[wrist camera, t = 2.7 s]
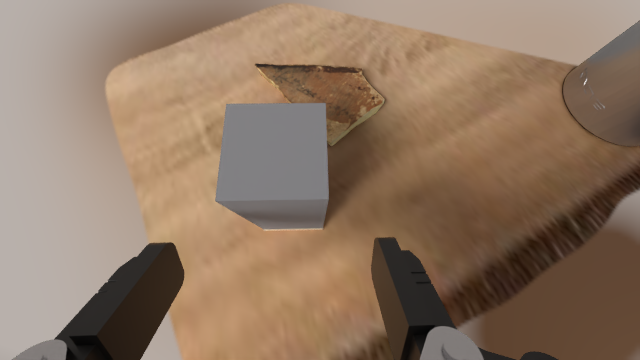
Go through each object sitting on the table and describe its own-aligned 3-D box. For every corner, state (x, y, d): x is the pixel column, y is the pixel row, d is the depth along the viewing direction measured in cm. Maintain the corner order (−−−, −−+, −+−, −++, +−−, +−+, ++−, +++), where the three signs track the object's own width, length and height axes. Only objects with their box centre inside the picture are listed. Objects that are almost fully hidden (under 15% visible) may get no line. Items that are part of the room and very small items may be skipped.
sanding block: (321, 174, 21) (326, 102, 11) (323, 229, 19) (330, 200, 10) (267, 175, 21) (225, 103, 11) (264, 230, 19) (213, 202, 10)
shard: (257, 75, 24) (253, 61, 23) (317, 38, 26) (317, 22, 24) (327, 152, 22) (328, 143, 20) (388, 106, 23) (394, 94, 22)
